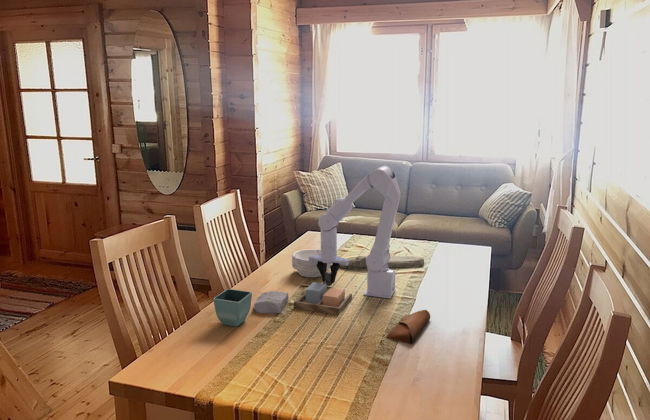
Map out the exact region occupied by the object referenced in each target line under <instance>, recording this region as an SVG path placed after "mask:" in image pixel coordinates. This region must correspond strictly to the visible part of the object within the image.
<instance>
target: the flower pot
mask: <svg viewBox="0 0 650 420" xmlns="http://www.w3.org/2000/svg"><path fill="white" fill-rule="evenodd" d="M252 296H253V292H252V291H246V290H240V289H233V288H227V289H225V290H223V291H222V292H220V293H219V294H217V295H216V296H214V297H213V299H212V300H213V305H214V311H215V314H216V317H217V318H218V320H219V321H220V323H221V324H222V325H225V326H231V327H235V328H236V327H238V326H239V327H240V325H241V324H242V323H243V322H244V321H246V319H247V317H248V315H249V314H250V310H251V306H252V300H253V299H252Z"/></svg>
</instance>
